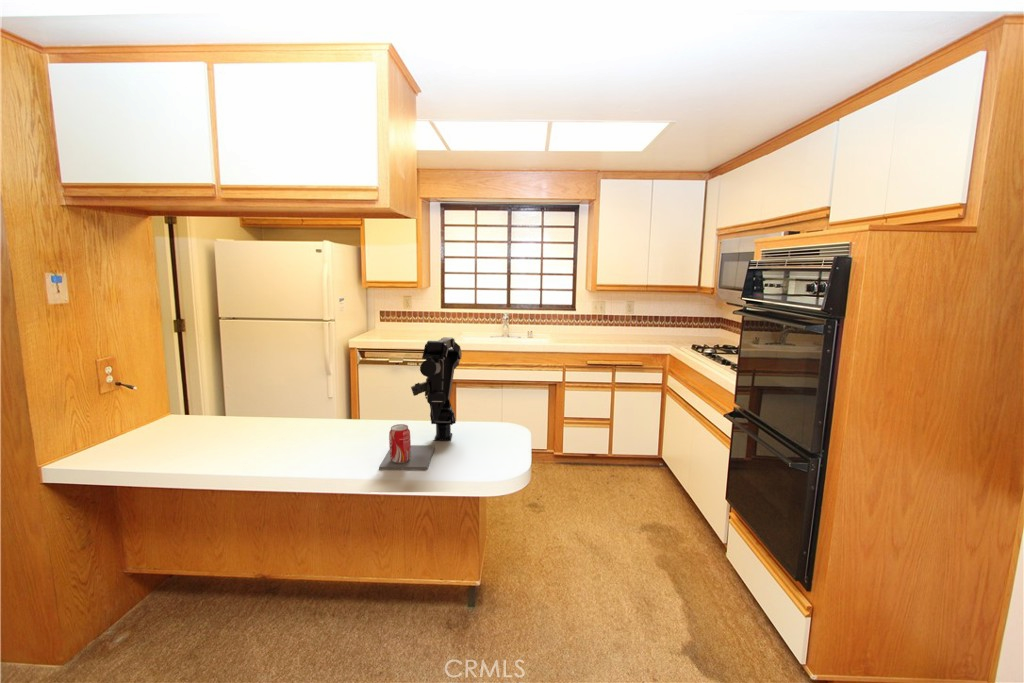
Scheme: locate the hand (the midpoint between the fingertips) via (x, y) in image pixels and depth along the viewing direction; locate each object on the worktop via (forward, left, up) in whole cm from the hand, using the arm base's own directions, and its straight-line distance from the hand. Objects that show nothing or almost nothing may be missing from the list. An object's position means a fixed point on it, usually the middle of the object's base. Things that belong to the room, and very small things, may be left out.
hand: (434, 418), depth 163 cm
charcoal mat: (+6, -8, -13) cm, 16 cm away
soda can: (+10, -10, -12) cm, 18 cm away
